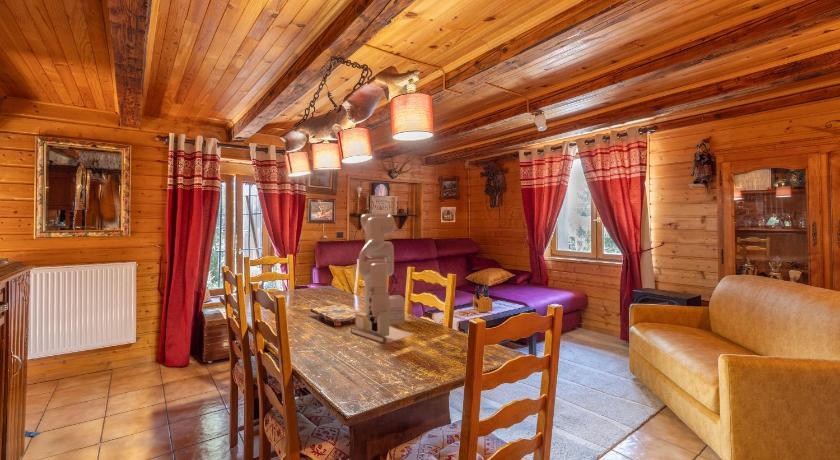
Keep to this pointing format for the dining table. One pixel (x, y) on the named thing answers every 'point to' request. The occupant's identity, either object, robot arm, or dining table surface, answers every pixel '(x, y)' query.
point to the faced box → (362, 321)
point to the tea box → (381, 324)
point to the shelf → (393, 335)
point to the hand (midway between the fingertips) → (378, 329)
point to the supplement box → (397, 310)
